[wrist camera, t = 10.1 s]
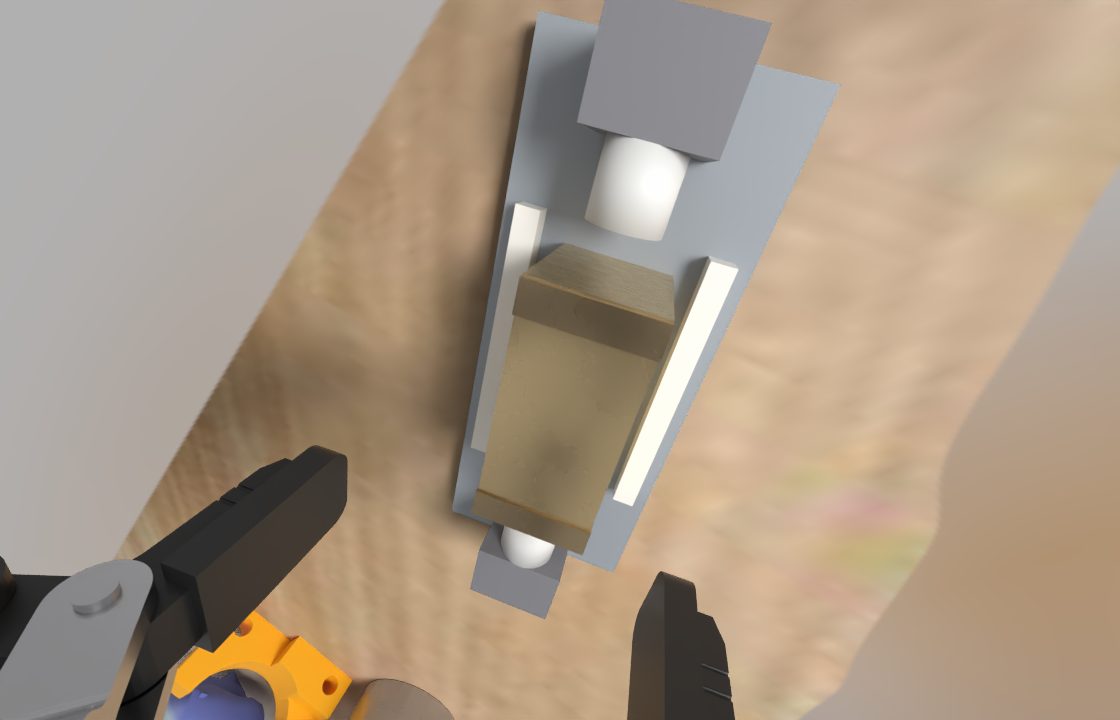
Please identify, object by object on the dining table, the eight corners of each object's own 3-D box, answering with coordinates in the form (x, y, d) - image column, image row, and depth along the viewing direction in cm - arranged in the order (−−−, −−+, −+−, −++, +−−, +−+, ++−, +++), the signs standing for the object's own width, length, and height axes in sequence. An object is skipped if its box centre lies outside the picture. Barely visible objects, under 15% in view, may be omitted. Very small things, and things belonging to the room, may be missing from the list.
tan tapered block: (563, 242, 17) (519, 273, 12) (674, 276, 17) (676, 322, 12) (516, 435, 22) (470, 514, 17) (602, 465, 21) (581, 557, 16)
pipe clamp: (353, 678, 39) (299, 765, 33) (330, 687, 41) (275, 772, 35) (253, 594, 37) (177, 672, 31) (234, 608, 39) (159, 684, 33)
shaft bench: (615, 558, 25) (603, 643, 20) (459, 499, 26) (415, 568, 21) (830, 89, 14) (905, 53, 9) (545, 19, 15) (493, -43, 11)
